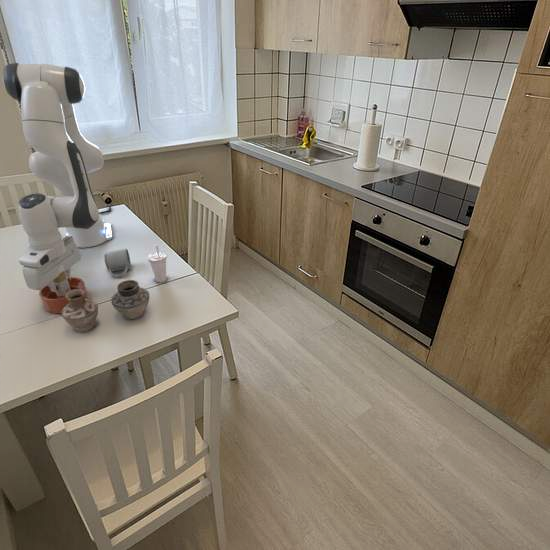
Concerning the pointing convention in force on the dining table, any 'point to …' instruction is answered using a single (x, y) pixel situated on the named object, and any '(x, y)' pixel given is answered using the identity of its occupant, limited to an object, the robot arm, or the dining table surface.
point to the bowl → (57, 305)
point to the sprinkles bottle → (61, 283)
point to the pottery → (124, 301)
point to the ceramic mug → (117, 261)
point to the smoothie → (158, 265)
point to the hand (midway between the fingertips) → (61, 285)
